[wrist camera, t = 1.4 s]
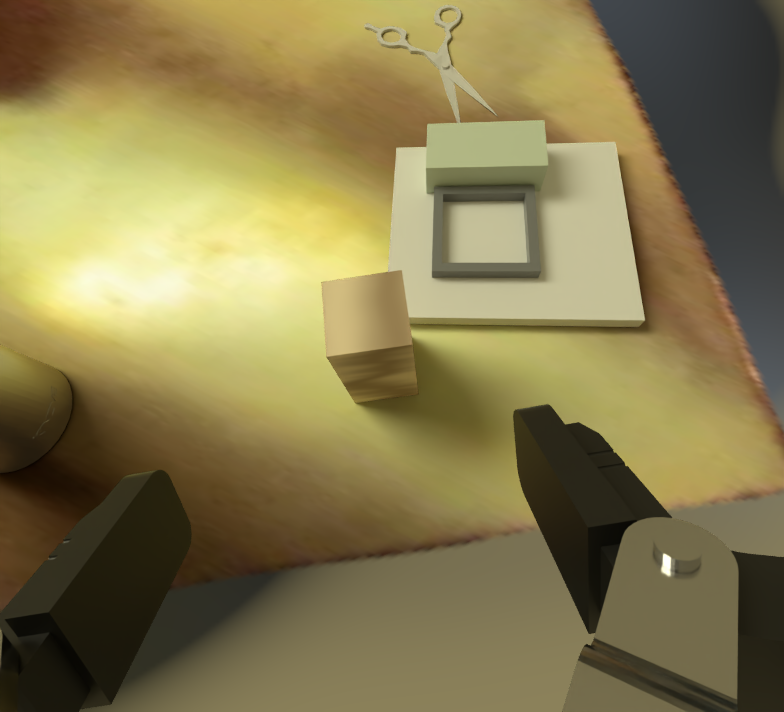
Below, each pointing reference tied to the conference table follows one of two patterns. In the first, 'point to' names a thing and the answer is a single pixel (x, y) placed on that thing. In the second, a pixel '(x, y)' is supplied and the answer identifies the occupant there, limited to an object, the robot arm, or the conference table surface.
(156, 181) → the conference table surface
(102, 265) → the conference table surface
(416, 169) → the board
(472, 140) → the pale green block
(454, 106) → the scissors
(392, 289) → the maple block
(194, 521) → the conference table surface
